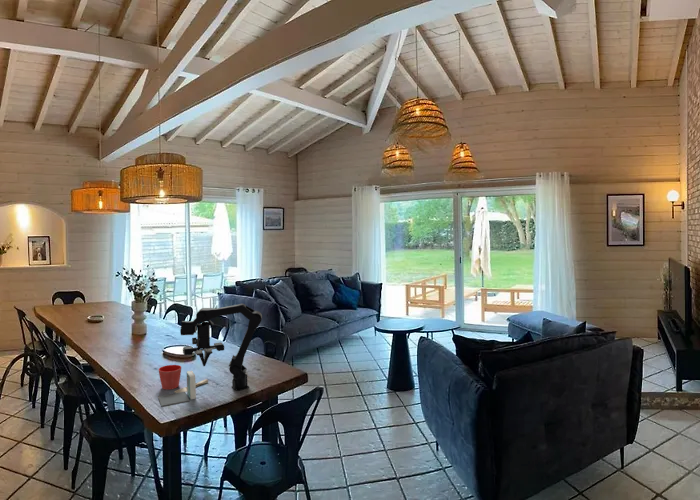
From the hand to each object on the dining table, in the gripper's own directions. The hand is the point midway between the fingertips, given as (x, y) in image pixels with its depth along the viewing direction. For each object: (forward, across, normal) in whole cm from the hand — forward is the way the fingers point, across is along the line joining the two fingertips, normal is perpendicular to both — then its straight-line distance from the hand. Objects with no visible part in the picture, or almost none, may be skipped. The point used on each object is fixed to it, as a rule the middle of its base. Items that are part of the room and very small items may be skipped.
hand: (204, 365), depth 217 cm
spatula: (+12, +5, -6) cm, 14 cm away
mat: (+12, +15, +5) cm, 20 cm away
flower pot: (+12, +14, -13) cm, 23 cm away
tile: (+12, +7, +5) cm, 15 cm away
